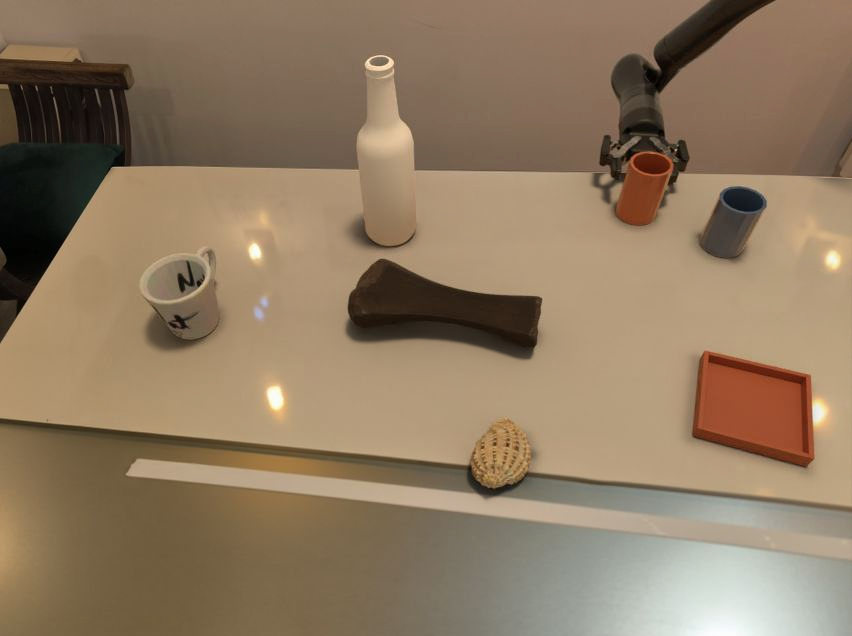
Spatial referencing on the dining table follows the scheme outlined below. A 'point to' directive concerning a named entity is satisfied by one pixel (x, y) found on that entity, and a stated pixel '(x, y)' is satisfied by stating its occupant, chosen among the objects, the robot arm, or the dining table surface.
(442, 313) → the dark brown bone
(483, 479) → the seashell
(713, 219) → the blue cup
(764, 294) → the dining table surface
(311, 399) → the dining table surface
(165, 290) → the mug
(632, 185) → the terracotta cup
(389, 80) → the alcohol
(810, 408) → the terracotta tray
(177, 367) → the dining table surface
